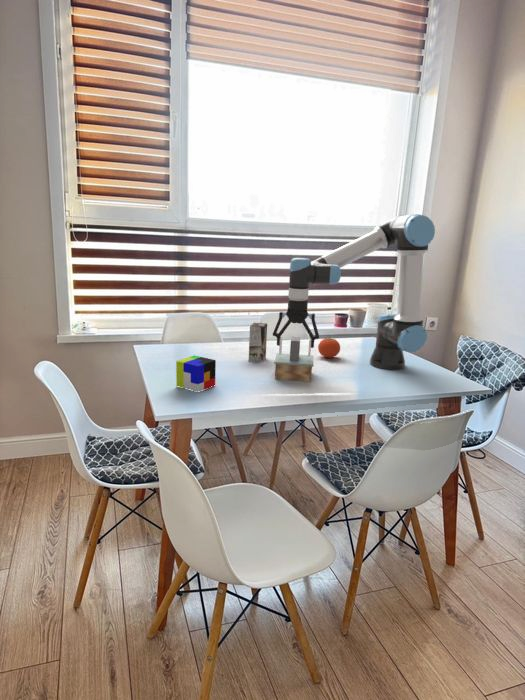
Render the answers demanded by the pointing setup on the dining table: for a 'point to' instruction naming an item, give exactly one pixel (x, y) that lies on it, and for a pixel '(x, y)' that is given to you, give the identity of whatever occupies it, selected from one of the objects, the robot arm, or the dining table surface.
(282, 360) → the lid
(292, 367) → the crate
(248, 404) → the dining table surface
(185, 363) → the puzzle toy
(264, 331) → the coffee box
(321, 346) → the orange fruit
